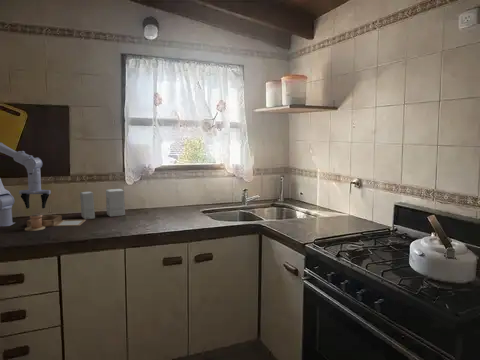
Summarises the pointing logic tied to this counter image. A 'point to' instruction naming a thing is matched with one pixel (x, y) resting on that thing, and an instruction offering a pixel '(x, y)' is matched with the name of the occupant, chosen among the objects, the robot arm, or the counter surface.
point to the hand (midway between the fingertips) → (35, 208)
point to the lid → (70, 223)
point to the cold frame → (48, 220)
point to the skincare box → (87, 205)
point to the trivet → (34, 229)
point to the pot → (36, 221)
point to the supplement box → (115, 202)
